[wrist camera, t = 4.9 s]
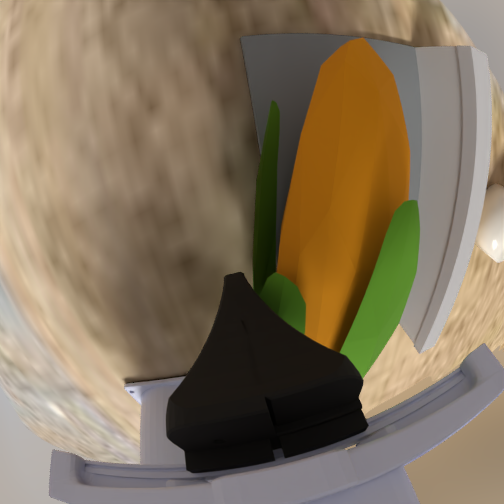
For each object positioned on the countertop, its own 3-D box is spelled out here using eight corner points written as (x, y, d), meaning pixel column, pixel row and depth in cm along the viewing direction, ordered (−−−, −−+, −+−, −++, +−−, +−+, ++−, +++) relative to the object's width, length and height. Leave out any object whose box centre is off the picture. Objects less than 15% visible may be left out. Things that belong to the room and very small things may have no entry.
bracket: (406, 309, 22) (434, 345, 18) (286, 351, 21) (304, 401, 17) (427, 52, 11) (487, 54, 6) (240, 38, 10) (264, 4, 5)
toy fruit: (271, 444, 13) (307, -30, 3) (240, 355, 19) (229, 40, 9) (373, 405, 15) (486, 63, 5) (327, 333, 21) (365, 59, 11)
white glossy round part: (495, 237, 21) (514, 253, 18) (464, 251, 21) (486, 270, 18) (507, 180, 17) (530, 194, 14) (477, 185, 17) (505, 201, 14)
